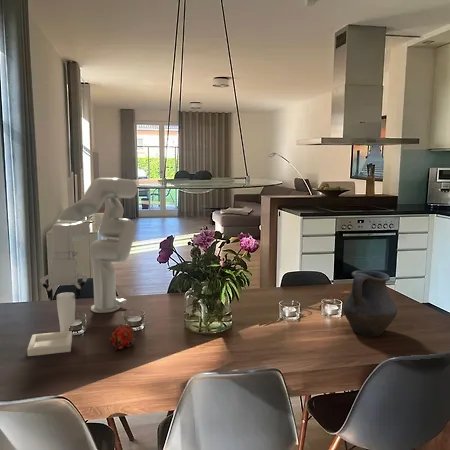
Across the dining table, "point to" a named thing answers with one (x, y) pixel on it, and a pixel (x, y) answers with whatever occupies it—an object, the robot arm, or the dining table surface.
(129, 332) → the dragon fruit
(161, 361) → the dining table surface
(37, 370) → the dining table surface
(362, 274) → the pitcher
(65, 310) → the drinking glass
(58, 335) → the tray
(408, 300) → the dining table surface
